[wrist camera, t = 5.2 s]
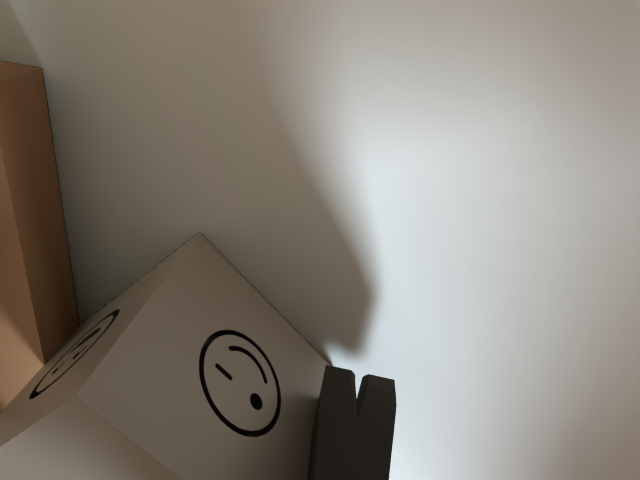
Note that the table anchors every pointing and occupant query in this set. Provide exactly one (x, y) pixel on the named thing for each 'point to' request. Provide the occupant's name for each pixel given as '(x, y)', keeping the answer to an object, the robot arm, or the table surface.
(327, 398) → the robot arm
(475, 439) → the table surface
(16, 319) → the peg rack
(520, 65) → the table surface
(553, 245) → the table surface
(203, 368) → the dice cube
